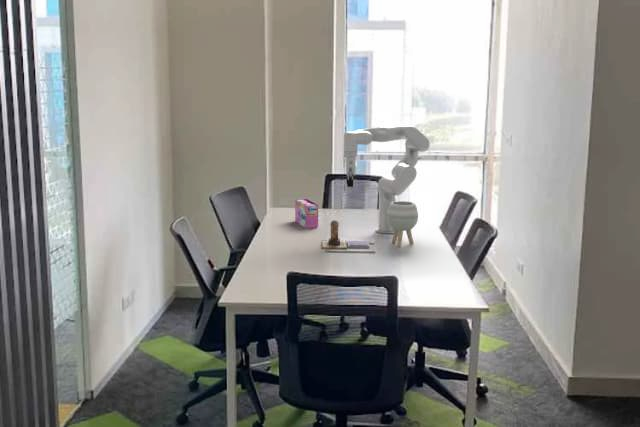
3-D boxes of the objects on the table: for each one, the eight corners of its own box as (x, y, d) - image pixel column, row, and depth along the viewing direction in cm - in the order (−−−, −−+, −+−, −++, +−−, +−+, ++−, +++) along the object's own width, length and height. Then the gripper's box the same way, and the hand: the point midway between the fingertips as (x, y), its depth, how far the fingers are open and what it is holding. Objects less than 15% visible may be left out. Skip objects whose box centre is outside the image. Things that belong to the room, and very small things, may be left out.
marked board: (346, 242, 374) (346, 240, 374) (347, 249, 359) (347, 247, 359) (321, 241, 374) (322, 240, 374) (321, 248, 359) (321, 247, 359)
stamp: (339, 242, 369) (340, 219, 367) (340, 245, 363) (340, 221, 361) (328, 242, 369) (328, 219, 367) (328, 245, 363) (328, 221, 361)
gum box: (294, 220, 431) (294, 199, 428) (306, 220, 433) (306, 198, 430) (305, 228, 408) (305, 205, 406) (318, 227, 411) (318, 205, 408)
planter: (397, 249, 359) (398, 206, 355) (380, 243, 373) (381, 201, 369) (423, 246, 366) (424, 204, 362) (405, 240, 380) (406, 199, 376)
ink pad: (368, 243, 372) (368, 240, 372) (369, 248, 361) (369, 245, 361) (347, 243, 372) (347, 240, 372) (348, 248, 361) (348, 245, 361)
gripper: (358, 156, 373) (357, 187, 376) (356, 152, 390) (356, 183, 393) (344, 156, 373) (343, 187, 376) (343, 152, 390) (342, 183, 393)
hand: (349, 185), depth 385 cm, fingers open, 9 cm apart
